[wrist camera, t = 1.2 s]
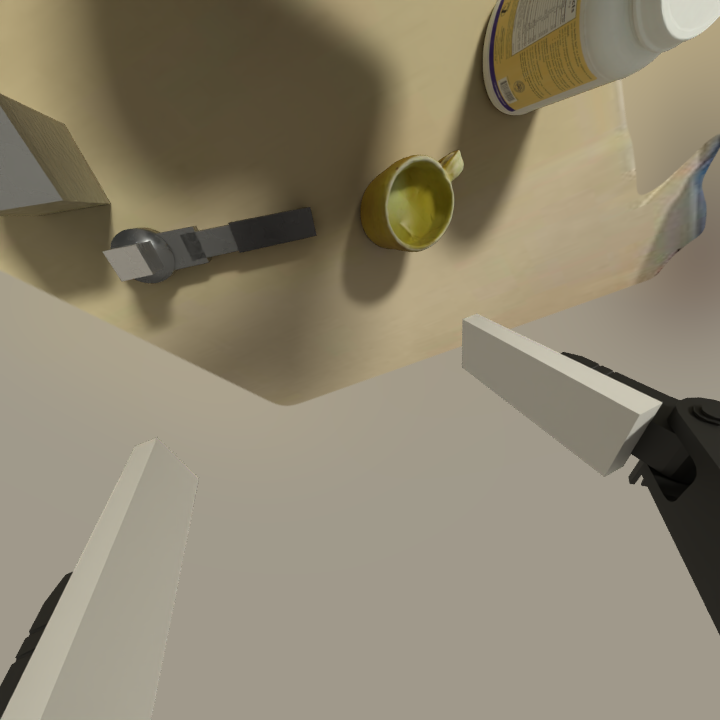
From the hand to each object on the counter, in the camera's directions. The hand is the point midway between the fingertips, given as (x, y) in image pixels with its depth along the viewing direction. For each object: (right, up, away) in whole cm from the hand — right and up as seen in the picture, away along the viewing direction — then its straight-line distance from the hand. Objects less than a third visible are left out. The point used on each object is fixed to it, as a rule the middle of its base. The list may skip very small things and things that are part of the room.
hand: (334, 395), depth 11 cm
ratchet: (-15, +16, +19) cm, 29 cm away
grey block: (-27, +19, +12) cm, 35 cm away
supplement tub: (+20, +39, +21) cm, 49 cm away
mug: (+6, +23, +24) cm, 34 cm away
